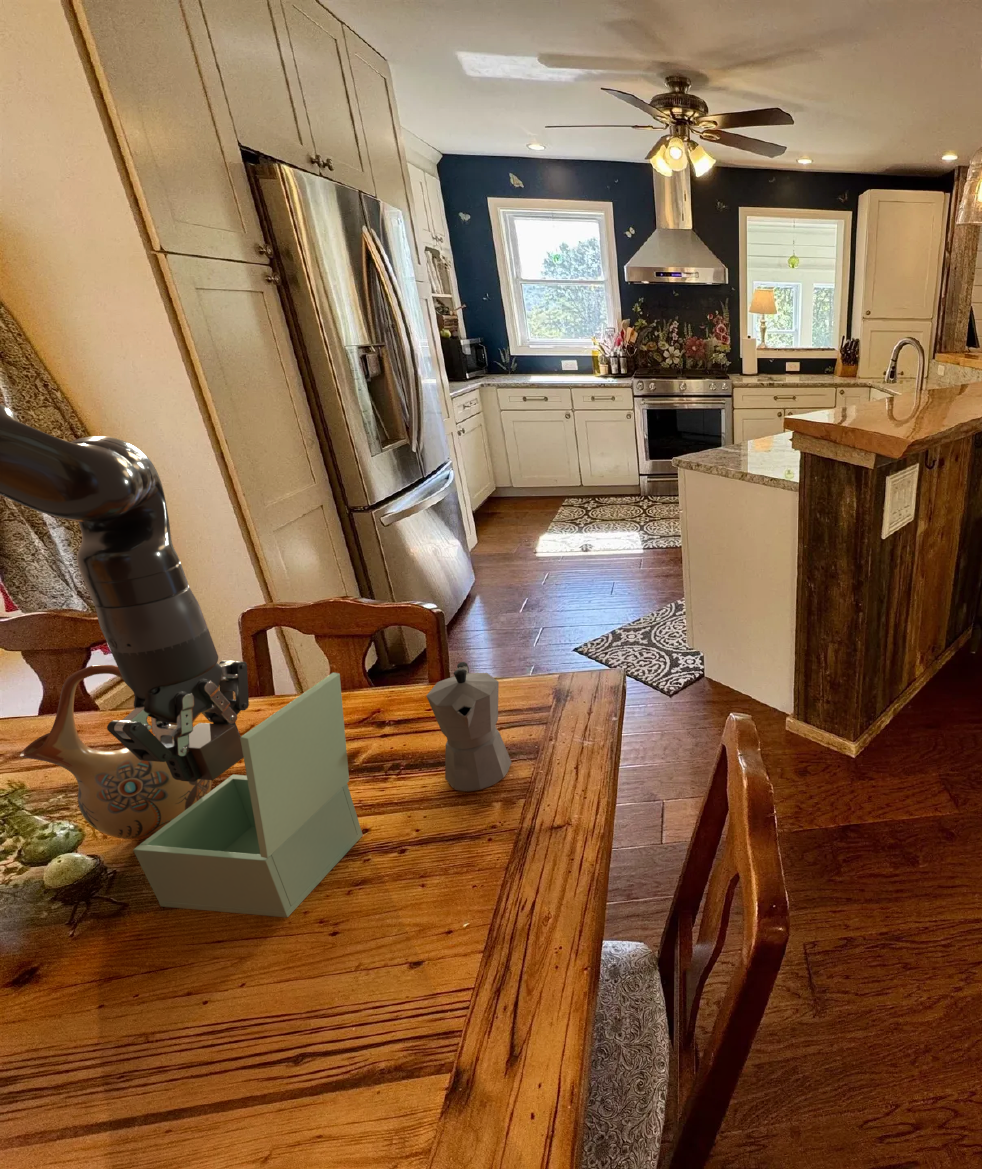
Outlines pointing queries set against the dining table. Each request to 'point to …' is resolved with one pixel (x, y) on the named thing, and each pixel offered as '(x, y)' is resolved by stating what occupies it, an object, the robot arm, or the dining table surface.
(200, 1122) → the dining table surface
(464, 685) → the coffeepot
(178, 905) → the box
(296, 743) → the lid
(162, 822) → the ceramic vessel
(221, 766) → the block
